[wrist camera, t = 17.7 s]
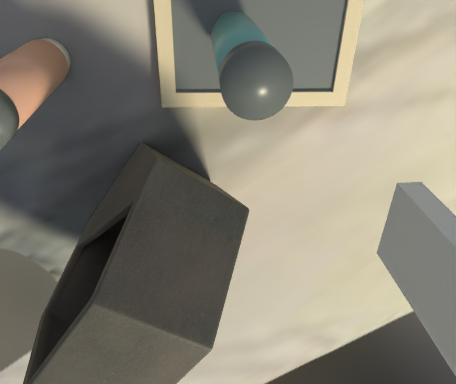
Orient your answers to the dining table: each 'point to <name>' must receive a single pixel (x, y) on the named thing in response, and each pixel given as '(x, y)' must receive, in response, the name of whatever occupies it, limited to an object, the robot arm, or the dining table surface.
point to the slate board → (274, 31)
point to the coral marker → (29, 81)
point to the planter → (142, 280)
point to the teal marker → (249, 68)
